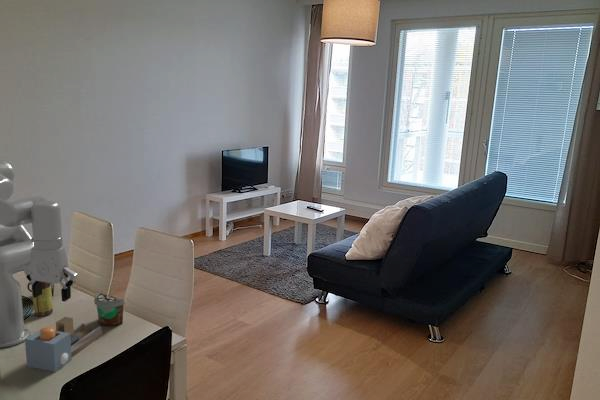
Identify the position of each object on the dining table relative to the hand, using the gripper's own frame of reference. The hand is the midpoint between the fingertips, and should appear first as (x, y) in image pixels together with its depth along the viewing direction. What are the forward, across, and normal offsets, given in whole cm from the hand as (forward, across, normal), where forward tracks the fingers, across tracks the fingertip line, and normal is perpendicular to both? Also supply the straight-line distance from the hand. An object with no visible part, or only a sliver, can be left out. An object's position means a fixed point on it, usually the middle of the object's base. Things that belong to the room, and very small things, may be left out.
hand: (52, 297), depth 145 cm
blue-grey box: (+20, 0, -2) cm, 21 cm away
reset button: (+14, 0, -2) cm, 14 cm away
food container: (+21, +1, +25) cm, 33 cm away
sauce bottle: (+20, -25, +26) cm, 41 cm away
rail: (+20, 0, +9) cm, 22 cm away
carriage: (+19, 0, +5) cm, 19 cm away
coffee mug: (+20, -36, +37) cm, 56 cm away
